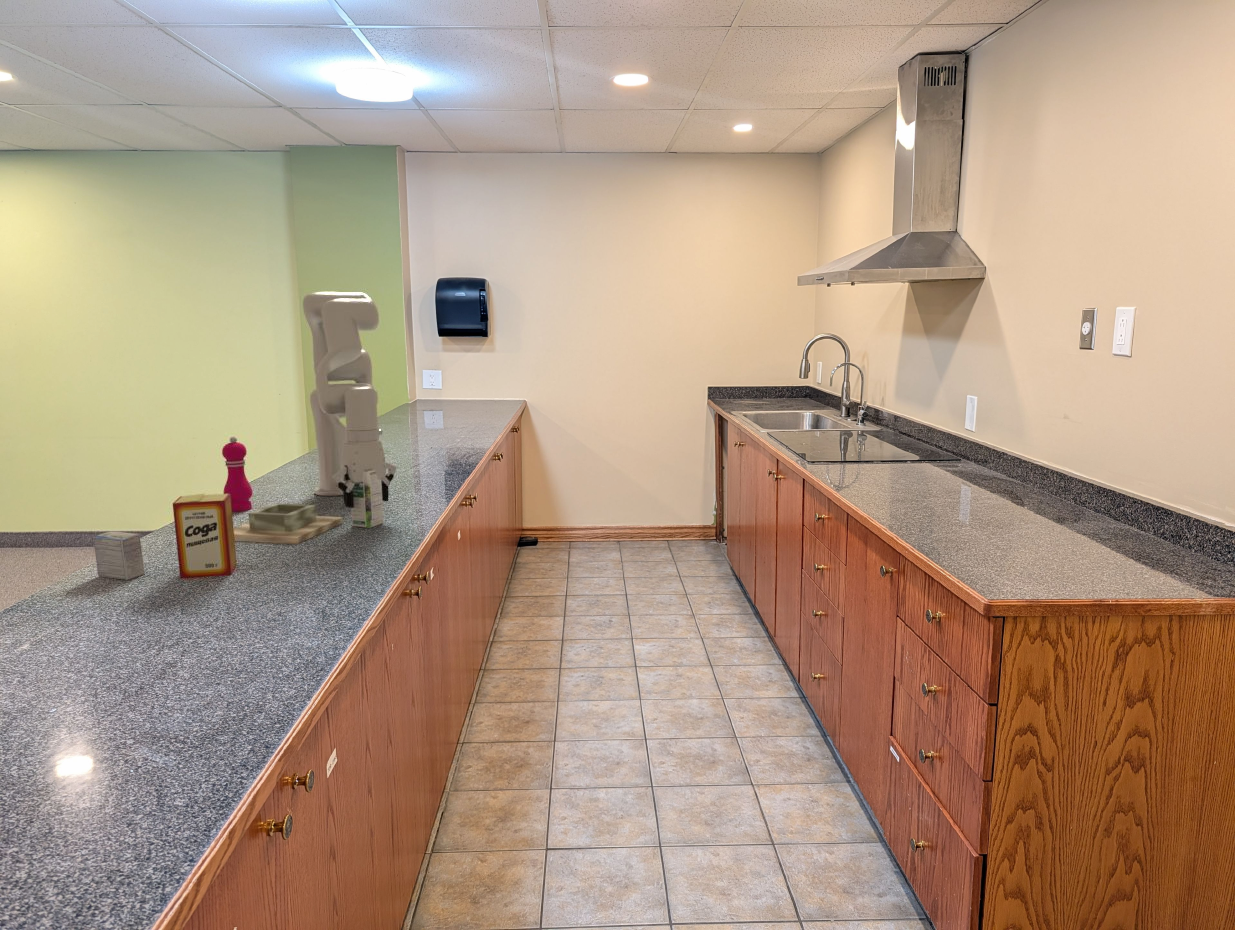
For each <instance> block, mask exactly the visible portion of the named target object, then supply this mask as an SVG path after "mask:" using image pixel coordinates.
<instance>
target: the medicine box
mask: <svg viewBox="0 0 1235 930" xmlns="http://www.w3.org/2000/svg"><path fill="white" fill-rule="evenodd" d="M92 539H93V547H94V554H95V560H96V561H95V562H96V569H97V571H96V572H97V576H98V577H99V578H109V579H117V580H124V581H128V580H133V579H134V578H137V577H140V576H143V575H145V564H144V558H143V550H142V541H141V535H140V533H134V532H133V533H131V532H124V531H123V532H122V531H114V530H113V531H112V530H111V531H108V532H104V533H101V534H97V535H94V536H93V537H92Z"/></svg>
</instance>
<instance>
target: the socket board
mask: <svg viewBox="0 0 1235 930" xmlns="http://www.w3.org/2000/svg"><path fill="white" fill-rule="evenodd" d="M316 506H317V505H316V504H299V503H298V504H297V503H282V502H281V503H278V502H276V503H272V504H270V505H268V506H264V507H262V508H260V509H257V510H254V511H251V512H248V522H247V523H245V524H242V525H239V526H236V527H233V529H234V540H235V541H237V542H238V541H240V542H257V543H272V544H288V545H289V544H290V545H299V544H301V543H303V542H305V541H307V540H310V539H312V538H315V537H316V536H318V535H320V534H322V533H325V532H327V531H328V530H329V531H330V530H331V529H333V528H335V526H336V527H337V526H340V525H342V524H344V521H343V519H344V517H342V516H326V515H325V516H324V515H323V516H322V515H320V516H319V515H317V507H316Z"/></svg>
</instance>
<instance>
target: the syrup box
mask: <svg viewBox="0 0 1235 930" xmlns="http://www.w3.org/2000/svg"><path fill="white" fill-rule="evenodd" d="M351 492H353V499H354V507H353V508H350V509H351V510H350V511H351V525H352V527H358V528H359V527H360V528H365V529H367V528H368V529H371V528H373V527H377V526H379V525H382V524H384V507H383V505H384V504H383V501H382V483H381V479H378V477H377V474H376V471H375V470H374V469H371V470H366V471H363V478H362V482H361V483H357V484H355V485H354V486H353V488H352V490H351Z"/></svg>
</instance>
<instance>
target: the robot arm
mask: <svg viewBox="0 0 1235 930" xmlns="http://www.w3.org/2000/svg"><path fill="white" fill-rule="evenodd" d="M377 307H378V306H377V304H376V303H375V301H374V300H373V299H372V298H371V297H369V295H368V294H366V293H364V292H356V291H355V292H350V291H349V292H348V291H347V292H345V291H344V292H342V291H341V292H339V291H318V292H316V291H315V292H310V293H308V294H306V295H305V296H304V297H303V300H302V309H303V314H304V317H305V320H306V322H307V324H308V326H309V328H310V331H311V335H312V336H311V337H312V352H313V353H312V354H313V357H312V358H313V370H314V376H315V389H313V390H312V391H311V393H310V396H309V403H310V408H311V412H312V417H313V422H314V430H315V442H316V458H317V471H318V473H317V474H318V484H319V486H317V487H315V488H314V489H313V493H314V494H315V495H317V496H323V497H332V496H333V497H334V496H335V497H336V496H343V504H344V507H345V508H349V509H351V508H353V507H354V499H353V492H351V490H352V488H353V486H354V485H355V484H357V483H361V482H362V478H363V471H366V470H371V469H374V470H375V471H376V474H377V477H378V479H381V483H382V502H389V496H390V494H389V486H390V485H391V482H392V480H393V479H394V478H395V474H396V470H397V466H395V465H393V464H390V463H389V462H386V456H385V452H384V447H383V444H382V441H381V440H380V436H382V435H383V430H382V429H379V420H378V402H379V400H378V398H379V397H378V391H377V389H375V387H374V386H373V366H372V360H371V357H370V354H369V352H367V350H365V349H363V346H362V341H361V337H360V333H359V332H361V331H362V332H365V331H366V332H367V331H375V330H376V329H377V328H378V326H379V323H380V318H379V317H380V314H379V311H378V308H377ZM343 382H346V383H343ZM347 382H349V383H347ZM350 382H354V383H350ZM330 383H333V384H330ZM344 418H345V424H343V422H341V420H340V419H344ZM387 470H388V471H387Z"/></svg>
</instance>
